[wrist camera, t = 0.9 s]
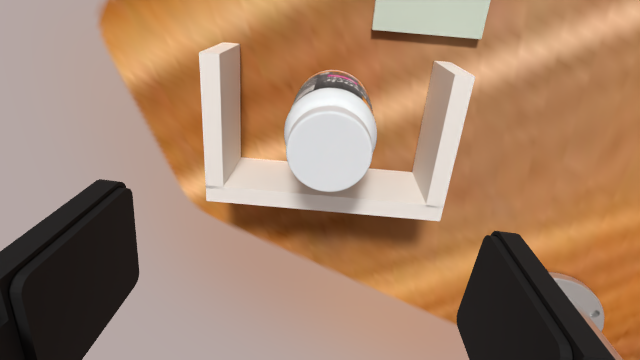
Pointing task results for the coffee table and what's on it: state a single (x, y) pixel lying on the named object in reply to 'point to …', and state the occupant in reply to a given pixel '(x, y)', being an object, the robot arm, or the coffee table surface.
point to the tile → (432, 17)
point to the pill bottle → (330, 132)
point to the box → (362, 198)
